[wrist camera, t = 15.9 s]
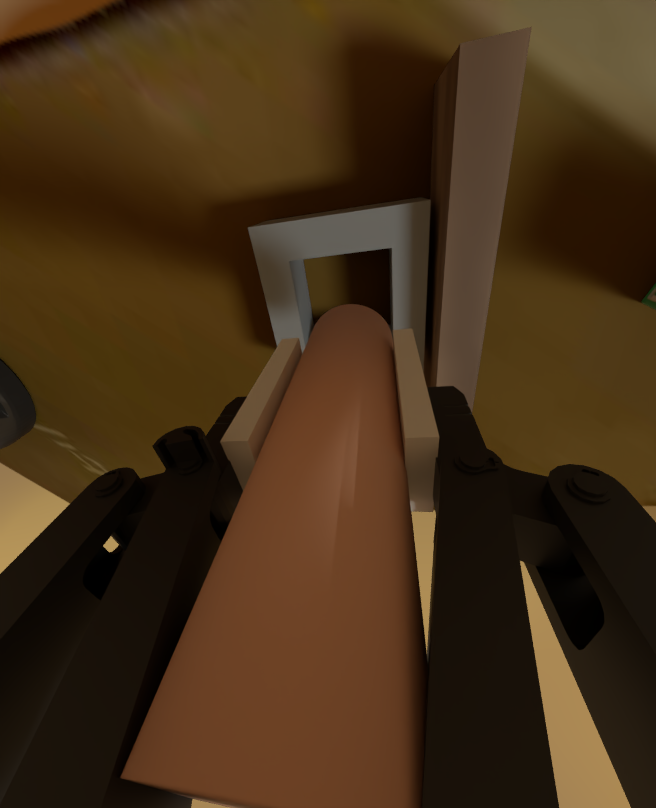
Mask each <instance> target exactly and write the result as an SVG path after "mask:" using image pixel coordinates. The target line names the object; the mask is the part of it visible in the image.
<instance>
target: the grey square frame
mask: <svg viewBox="0 0 656 808" xmlns="http://www.w3.org/2000/svg"><path fill="white" fill-rule="evenodd" d="M430 206H431V200H429V199H426V198H422V197H419V198H412V199H406V200H399V201H392V202H386V203H379V204H373V205H366V206H360V207H353V208H347V209H340V210H334V211H327V212H321V213H314V214H308V215H301V216H295V217H288V218H281V219H275V220H268V221H265V222H262V223H259V224H256V225H254V226H251V227H248V230H249V235H250V239H251V243H252V247H253V251H254V255H255V259H256V263H257V267H258V271H259V275H260V279H261V283H262V287H263V291H264V295H265V300H266V304H267V308H268V312H269V316H270V320H271V324H272V328H273V332H274V336H275V340H276V344H277V346H278V345H279V343H280V342H281V340H282V339H289V338H299V340H300V345H301V350H302V354H303V351H304V349H305V347H306V344H307V342H308V340H309V338H310V335H311V333H312V331H313V328H314V322H313V316H312V310H311V304H310V298H309V292H308V286H307V280H306V274H305V268H304V262H303V259H308V258H316V257H324V256H332V255H340V254H347V253H355V252H363V251H371V250H379V249H386V248H389V266H390V311H391V324H390V325H388V326H389V328H390V330H391V333H392V339H393V330H400V329H412V330H413V334H414V338H415V342H416V346H417V350H418V354H419V358H420V362H421V366H422V370H424V347H425V323H426V300H427V276H428V253H429V230H430Z"/></svg>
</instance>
